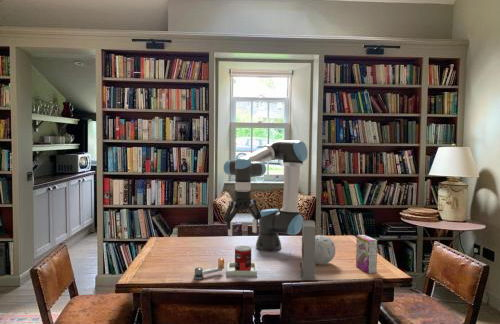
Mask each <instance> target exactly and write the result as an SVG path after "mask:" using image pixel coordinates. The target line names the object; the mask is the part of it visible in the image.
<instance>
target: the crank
mask: <svg viewBox="0 0 500 324" xmlns="http://www.w3.org/2000/svg"><path fill="white" fill-rule="evenodd" d="M224 269H225V259H224V258H223V257H222V258H221V257H219V258H217V266H216V267H213V268H206V269H203V268H202V267H195V268H194V275H195V276H196V277H200V276H202V275H203V276H204V275H208V274H212V273H213V274H214V273H218V272H221V271H223V270H224Z"/></svg>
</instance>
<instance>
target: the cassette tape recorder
mask: <svg viewBox="0 0 500 324" xmlns="http://www.w3.org/2000/svg"><path fill="white" fill-rule="evenodd" d="M315 236H316V225H315V221H314V220H307V219H306V220H304V219H303V221H302V228H301V262H299V269H300V275H301V280H302V281H304V280H305V281H315V280H316V279H315Z"/></svg>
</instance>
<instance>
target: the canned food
mask: <svg viewBox="0 0 500 324" xmlns="http://www.w3.org/2000/svg"><path fill="white" fill-rule="evenodd" d="M234 262H235V270H236V271H250V270H251V263H252V247H251V246H247V245H238V246H236V247H234Z"/></svg>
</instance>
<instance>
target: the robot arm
mask: <svg viewBox="0 0 500 324" xmlns="http://www.w3.org/2000/svg"><path fill="white" fill-rule="evenodd" d="M308 155H309V154H308V148H307V145H306V143H305V141H303V140H295V139H293V140H292V139H291V140H284V139H283V140H276V141H273V142H270V143H268V144H265V145H263V146H262V147H261V149H258V150H256V151H254V152H251V153H249V154H246V155H244V156H242V157H240V158H236V159H235V160H230V159H229V160H227V161H225V162H224V164H223V172H224V173H225V174H226V175H228V176H235V179H234V190H235V191H234V198H235V199H234V201H232V200H230V201H228V207H227V209H226V211H225V214H224V216H223V218H222V221H223V222H226V230H227V236H229V237H233V220H234V218H235V216H236V215H237V213H239V212H240V211H243V210H244V211H245V210H246V211H248V212H249V214H250V216H252V220H251V221H252V225H251V226H252V228H251V230H252V233H253V234H257V231H258V236H257V240H256V243H255V249H257V250H261V251H266V252H272V251H273V252H274V251H279V250H281V249H282V243H281V240H280V237H279V233H282V234H288V235H291V236H292V235H293V236H294V235H297V234H299V233H300V231H302V221H303V220H304V217H303V215H301V214H300V213H301V212H300V210H299V208H298V206H299V204H298V203H299V188H300V187H299V186H300V173H301V172H300V171H301V166H303V165H304V162H305V161H306V160H307V158H308ZM273 160H274V161H282V164H283V165H284V166H285V167H284V180H283V181H284V182H283V191H282V192H283V195H282V207H281V208H280V209H278V208H267V209H261V210H260V209H259V208H258V205H257V200H256V199H253V198H252V197H251V196H252V195H251V193H252V191H251V190H252V189H251V188H252V187H251V186H252V185H251V181H252V178H255V177H256V178H257V177H261V176H263V175H265V174H266V171H267V166H266V164H265V162H271V161H273ZM250 205H251V206H250ZM257 226H258V230H257Z"/></svg>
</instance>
